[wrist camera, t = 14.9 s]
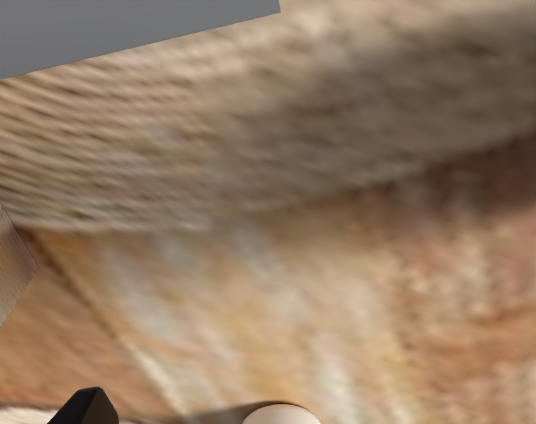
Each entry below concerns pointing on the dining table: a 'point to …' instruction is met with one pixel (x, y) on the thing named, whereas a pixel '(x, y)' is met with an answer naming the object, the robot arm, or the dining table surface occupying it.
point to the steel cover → (12, 265)
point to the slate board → (105, 27)
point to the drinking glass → (281, 415)
